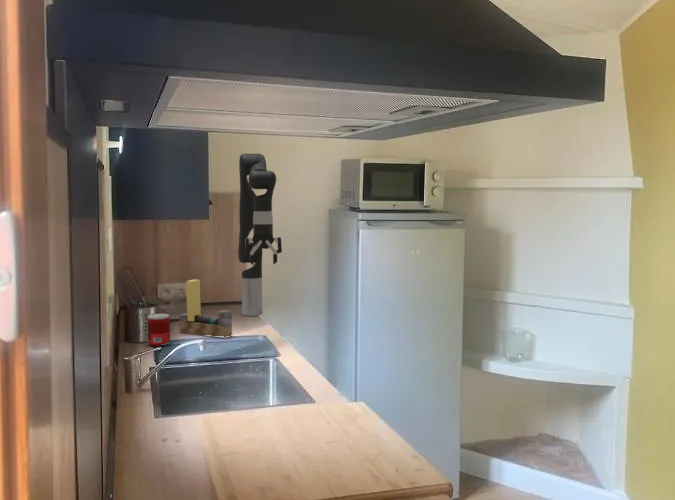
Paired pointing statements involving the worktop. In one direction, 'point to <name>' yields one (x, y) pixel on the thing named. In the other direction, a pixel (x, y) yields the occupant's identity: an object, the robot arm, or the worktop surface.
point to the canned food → (158, 329)
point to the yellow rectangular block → (193, 299)
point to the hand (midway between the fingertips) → (263, 264)
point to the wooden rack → (207, 324)
